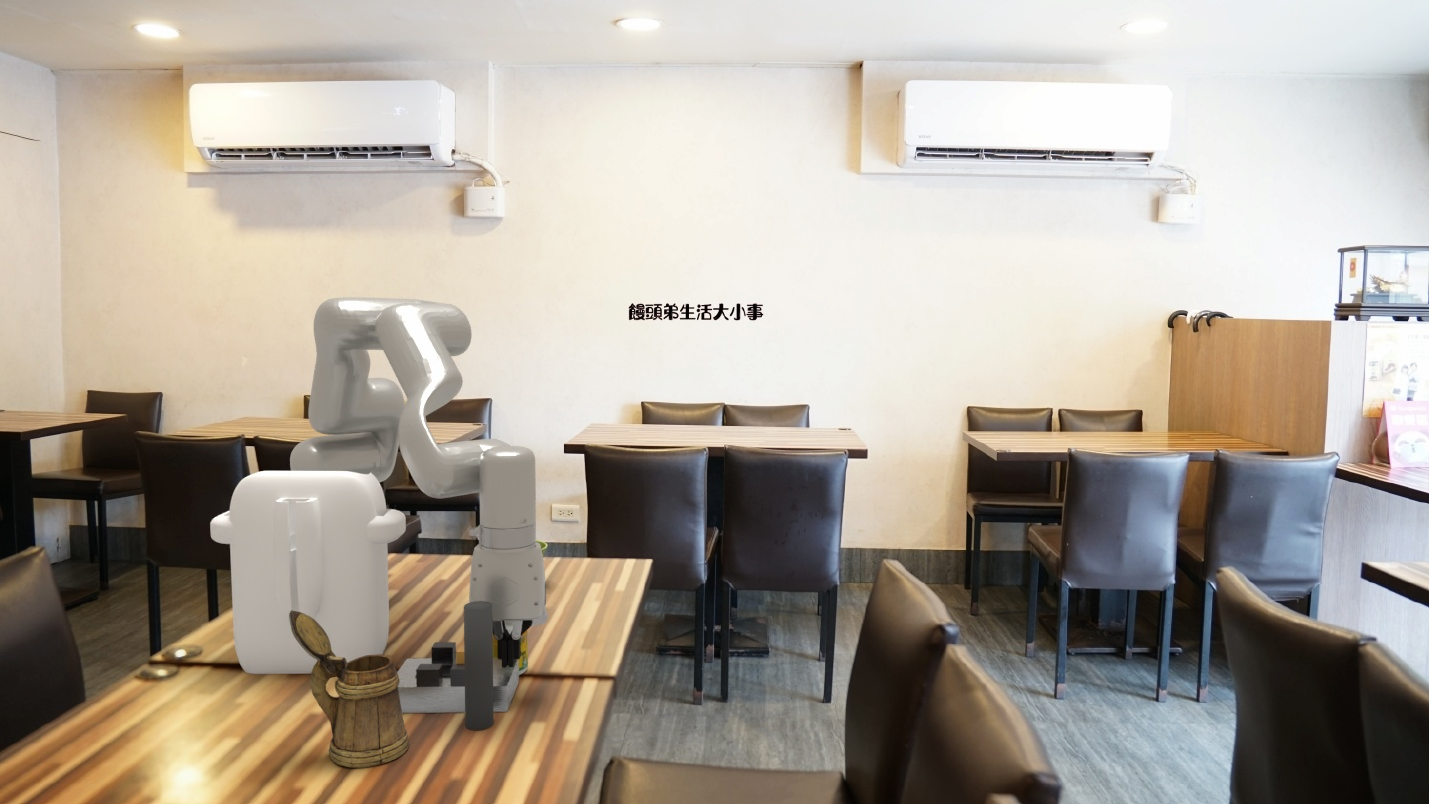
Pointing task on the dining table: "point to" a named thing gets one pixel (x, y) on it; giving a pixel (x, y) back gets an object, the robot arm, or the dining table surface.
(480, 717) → the post
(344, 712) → the wooden mug
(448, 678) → the breaker panel
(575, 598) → the dining table surface
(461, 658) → the block
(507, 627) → the supplement bottle
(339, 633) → the toaster
